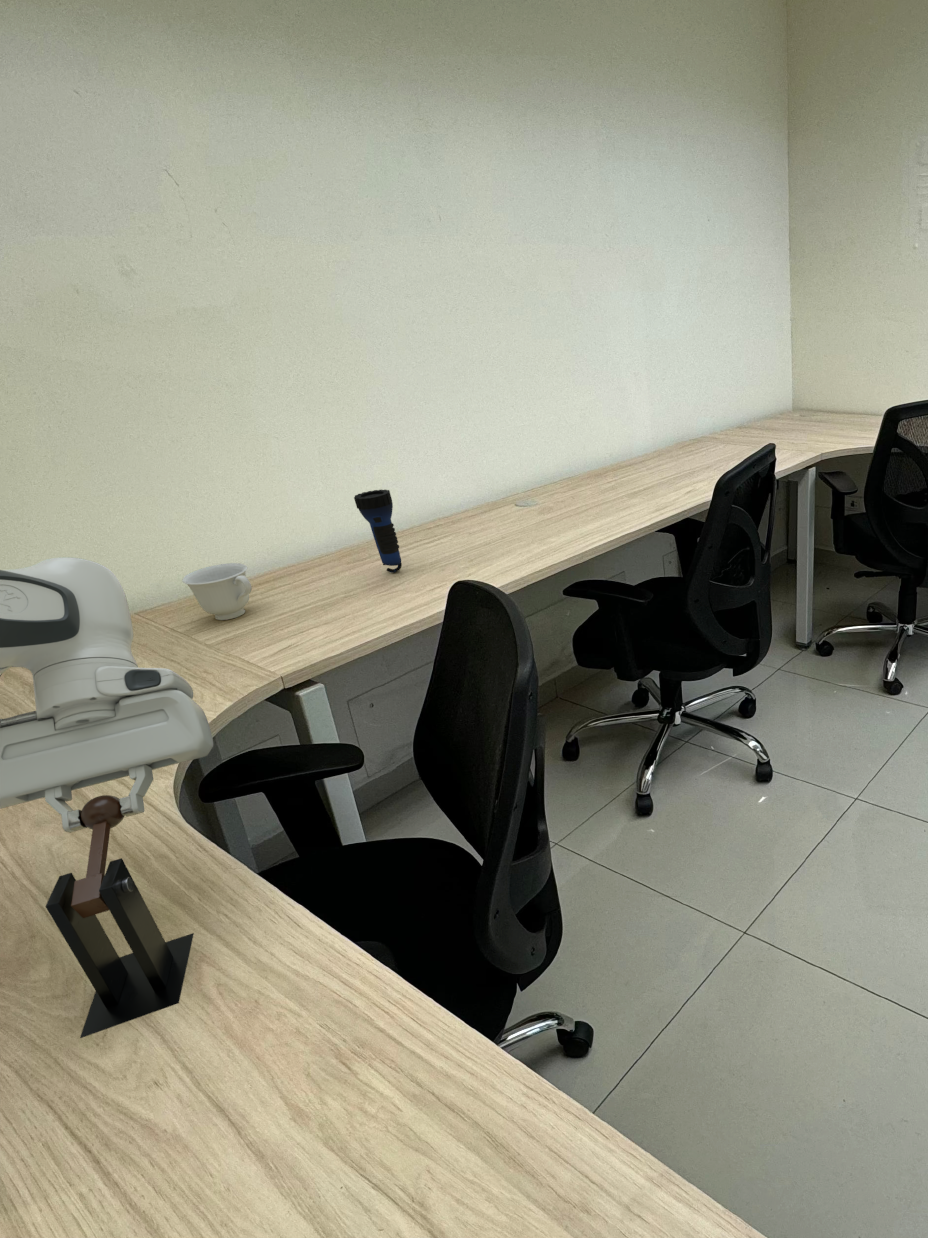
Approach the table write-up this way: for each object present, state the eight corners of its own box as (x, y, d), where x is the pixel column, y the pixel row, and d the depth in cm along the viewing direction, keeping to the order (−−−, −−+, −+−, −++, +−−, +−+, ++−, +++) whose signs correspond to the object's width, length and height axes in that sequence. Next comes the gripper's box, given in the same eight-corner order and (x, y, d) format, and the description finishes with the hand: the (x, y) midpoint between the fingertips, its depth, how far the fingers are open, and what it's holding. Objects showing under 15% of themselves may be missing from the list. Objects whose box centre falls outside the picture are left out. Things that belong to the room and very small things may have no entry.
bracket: (109, 969, 81) (48, 863, 75) (197, 940, 84) (146, 835, 78) (84, 1046, 73) (13, 934, 66) (183, 1011, 76) (123, 900, 69)
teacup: (236, 630, 160) (219, 586, 156) (185, 623, 165) (168, 580, 160) (283, 607, 170) (269, 565, 166) (234, 601, 175) (219, 561, 171)
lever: (92, 814, 81) (76, 794, 78) (133, 803, 82) (118, 783, 80) (77, 924, 72) (57, 905, 70) (122, 910, 74) (105, 891, 71)
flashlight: (369, 575, 187) (346, 495, 178) (398, 564, 193) (377, 487, 184) (387, 580, 182) (365, 499, 174) (416, 570, 188) (396, 491, 180)
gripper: (-52, 717, 76) (-43, 852, 72) (188, 666, 84) (207, 785, 80) (-14, 733, 82) (-4, 859, 78) (208, 683, 89) (227, 796, 85)
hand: (105, 821), depth 79 cm, fingers closed on lever, 3 cm apart
